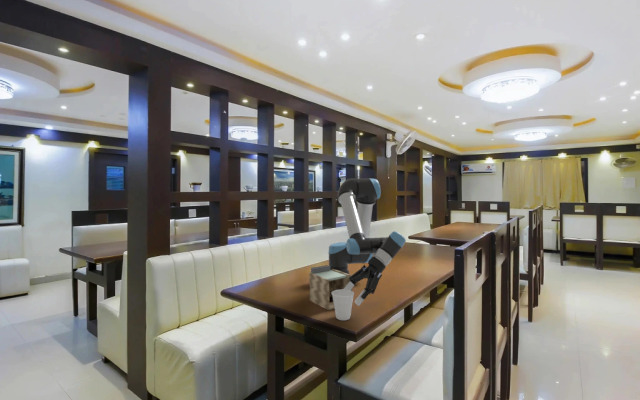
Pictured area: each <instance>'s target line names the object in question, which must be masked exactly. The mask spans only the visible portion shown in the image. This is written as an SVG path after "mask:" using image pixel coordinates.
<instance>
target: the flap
mask: <svg viewBox="0 0 640 400" xmlns="http://www.w3.org/2000/svg"><path fill="white" fill-rule="evenodd" d="M310 273H313V274H315V275H318V276H320V277H323V278H325V279H328V280H329V281H331V280H336V279H341V278H346V277H347V275H344V274H341V273H338V272H335V271H332V270H330V266H329V264H326V265H320V266H313V267H310V272H308V275H309V276H310Z"/></svg>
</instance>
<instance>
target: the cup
mask: <svg viewBox="0 0 640 400" xmlns="http://www.w3.org/2000/svg"><path fill="white" fill-rule="evenodd" d="M354 296H355V292H354V291H353V290H352V291H351V290H344V289H341V290H335V291H333V292H332V296H331V297H332V302H334V308H335V309H334V312H335V318H336V319H337V320H339V321H347V320H350V319H351V314H352V309H353V308H352V307H353V304H352V302H353V303H354Z"/></svg>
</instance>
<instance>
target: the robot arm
mask: <svg viewBox="0 0 640 400" xmlns="http://www.w3.org/2000/svg"><path fill="white" fill-rule="evenodd" d="M381 193H382V191H381V185H380V182H379V181H378V179H376V178H348V179H346V180H345V181H344V182H342V183H341V185H340V186H339V188H338V191H337V200H338V203H339V204H340V206H341V209H342V212H343V217H344V221H345V225H346V229H347V230H346V231H347V233H348V239H346V242H345V241H343V242H335V243H331V244H330V245H329V246H328V252H327V253H328V266H330V270H332V269H335V270H338V271H341V272H344V273H347V274H350V271H349V265H351V264H353V265H354V264H355V265H356V264H364V265H362V266H361V268H360V269H358V270H357V271H355V272H354V273H353V274H351V275H352V276H351V277H349V279H350V282H349V283H348V284H347V285H346V287H345V288H344V290H351V289H352V290H353V288H354V287H355V285H356V284H357V283H358V282H360V281H362V280H363V279H366V285H365V287H364V289H363V290H362V291H360V293H359V294H358V295H357V297H356V298H355V300H353V303H355V305H357V307H360V305H362V303H363V302H364V301H365V300H366V298H367V297H368V296H369V295H373V294H375V292H376V289H377V287H378V284H379V282H380V279H381V278H382V276H383V274H382V273H383V272H384V271H385V270H386V267H387V266H388V265H389V264H390V263H391V261H393V259H394V258H395V256H396V255H397V254H398V253H399V252H400V250H401V248H403V247H404V245H405V243H406V241H407V240H406V238H405V237H404V236H403V235H402V234H401V233H400V232H398V231H396V230H395V231H394V230H393V231H392V232H391V233H390V234H389V235H388V236H386V237H384V236H383V237H370V231H371V223H372V215H373V214H372V213H373V206H374V205H375V204H376V202H377V200H379V199H380V197H381ZM365 264H368V266H366V265H365Z"/></svg>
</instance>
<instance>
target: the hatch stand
mask: <svg viewBox="0 0 640 400" xmlns="http://www.w3.org/2000/svg"><path fill="white" fill-rule="evenodd" d="M332 271H335V272H338V273H341V274H344V275H347V277H346V278H341V279H336V280H331V281H329V280H328V279H325V278H323V277H320V276H318V275H315V274H313V273H311V272H309V273H310V275H309V302H311V303H314V304H316V305H317V306H319V307H321V308H324V309H325V310H327V311H331V310H335V308H334V302H333V301H330V297H333V296H332V292H333V291H335V290H341V289H344V288H345V287H346V285H347V284H348V283H349V282H350V279H349V277H351V276H352V275H353V274H350V273H349V274H347V273H344V272H341V271H338V270H335V269H332ZM351 291H353V288H352V289H351ZM353 303H354V301H353V302H352V305H353Z"/></svg>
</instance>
